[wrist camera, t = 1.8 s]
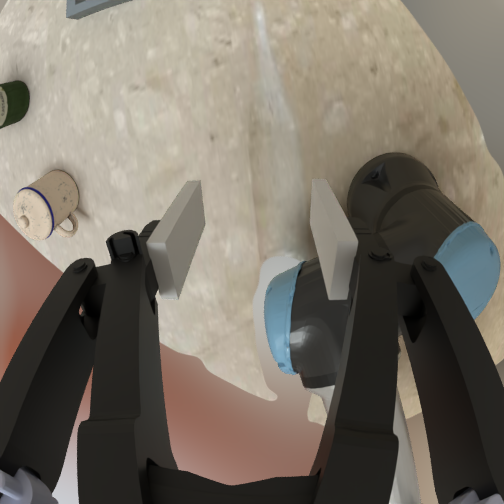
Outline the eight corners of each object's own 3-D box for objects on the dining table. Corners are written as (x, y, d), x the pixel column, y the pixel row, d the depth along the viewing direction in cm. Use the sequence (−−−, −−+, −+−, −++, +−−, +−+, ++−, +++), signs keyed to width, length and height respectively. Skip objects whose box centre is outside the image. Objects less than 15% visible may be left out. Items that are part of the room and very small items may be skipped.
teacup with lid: (37, 194, 43) (-2, 224, 33) (54, 157, 39) (10, 184, 29) (79, 234, 47) (46, 272, 38) (100, 201, 44) (63, 237, 34)
